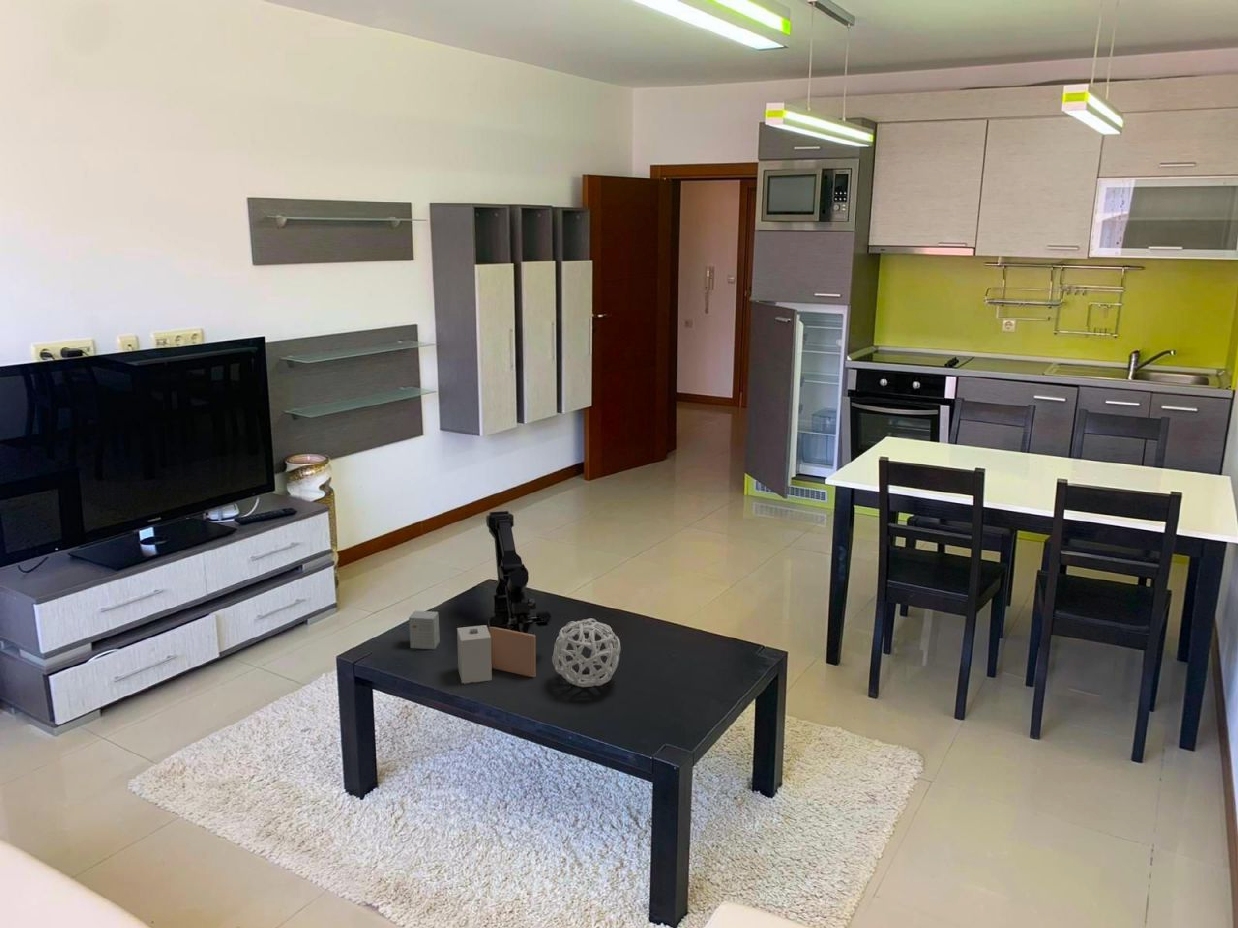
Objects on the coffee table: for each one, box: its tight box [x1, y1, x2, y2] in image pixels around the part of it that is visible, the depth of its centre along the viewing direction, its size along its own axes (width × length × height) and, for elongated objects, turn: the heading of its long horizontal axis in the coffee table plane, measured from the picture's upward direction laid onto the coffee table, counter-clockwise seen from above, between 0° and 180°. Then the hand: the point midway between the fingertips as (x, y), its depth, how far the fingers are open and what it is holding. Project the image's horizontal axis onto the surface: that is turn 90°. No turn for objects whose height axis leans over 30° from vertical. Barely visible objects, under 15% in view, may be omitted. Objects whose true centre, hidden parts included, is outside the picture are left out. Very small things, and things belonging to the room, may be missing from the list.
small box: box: [408, 610, 441, 650], centre depth 290 cm, size 8×6×10 cm
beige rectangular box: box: [456, 624, 493, 684], centre depth 271 cm, size 10×9×14 cm
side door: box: [489, 626, 537, 678], centre depth 272 cm, size 1×15×13 cm, turn 67°
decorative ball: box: [551, 617, 622, 688], centre depth 265 cm, size 20×20×19 cm
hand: (523, 648), depth 275 cm, fingers closed
